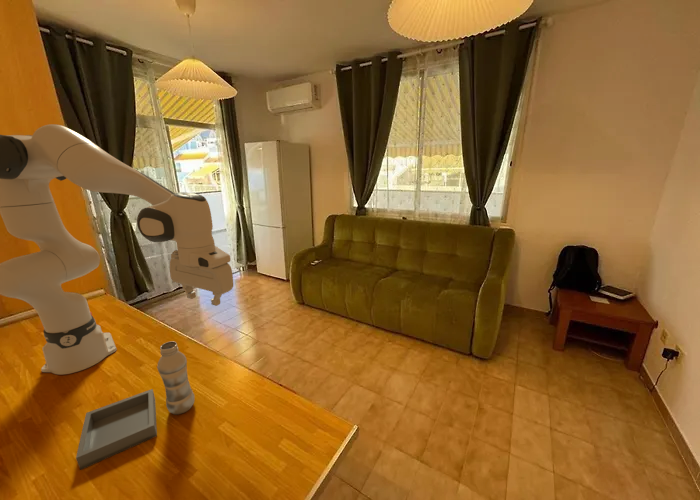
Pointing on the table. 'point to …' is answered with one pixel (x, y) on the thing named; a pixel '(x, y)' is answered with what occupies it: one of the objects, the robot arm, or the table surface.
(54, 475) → the table surface
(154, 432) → the box
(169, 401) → the plastic bottle
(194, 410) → the table surface
